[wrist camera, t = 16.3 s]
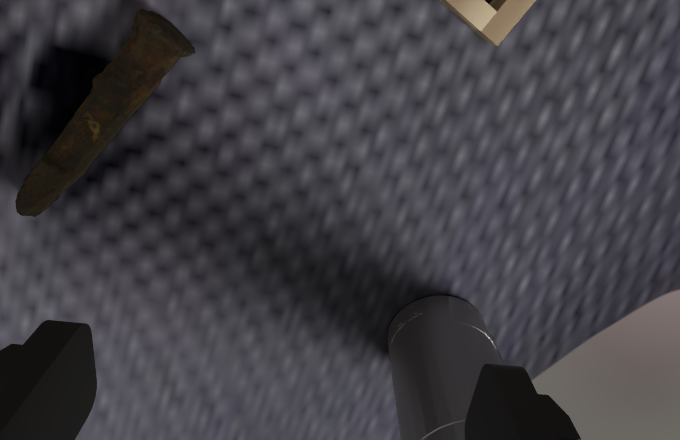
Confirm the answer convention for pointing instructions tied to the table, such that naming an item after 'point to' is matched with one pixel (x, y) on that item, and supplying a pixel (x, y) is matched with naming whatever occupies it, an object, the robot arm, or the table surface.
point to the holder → (489, 16)
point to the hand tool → (105, 109)
